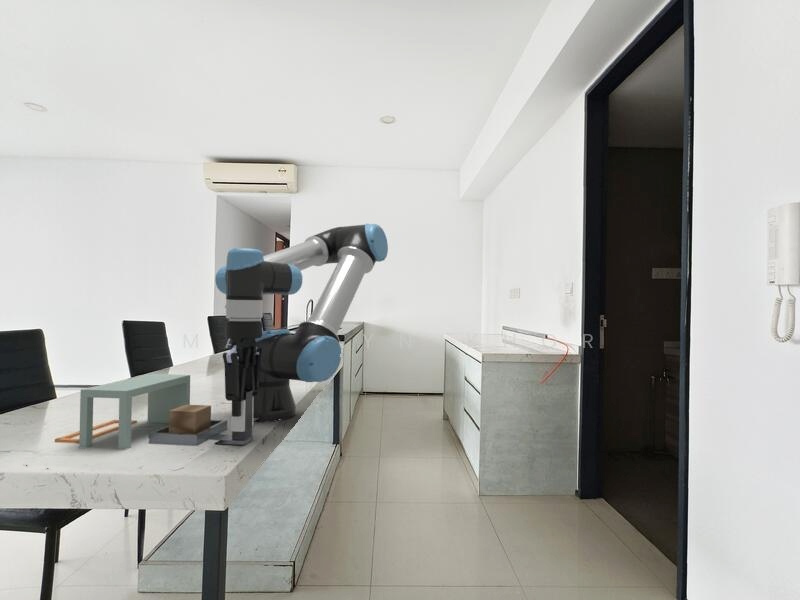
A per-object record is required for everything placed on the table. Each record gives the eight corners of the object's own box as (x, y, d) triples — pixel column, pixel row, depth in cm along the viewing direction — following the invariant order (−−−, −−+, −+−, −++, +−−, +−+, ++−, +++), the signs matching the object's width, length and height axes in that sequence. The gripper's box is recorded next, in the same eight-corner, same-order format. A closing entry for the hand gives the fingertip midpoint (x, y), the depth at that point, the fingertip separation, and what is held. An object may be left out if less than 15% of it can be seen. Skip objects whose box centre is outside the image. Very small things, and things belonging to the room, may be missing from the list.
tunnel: (189, 426, 105) (190, 374, 106) (125, 454, 85) (126, 391, 85) (151, 424, 107) (152, 373, 107) (79, 452, 86) (80, 389, 86)
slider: (260, 433, 99) (261, 386, 99) (234, 451, 87) (235, 397, 87) (183, 430, 101) (184, 384, 101) (147, 446, 89) (148, 394, 89)
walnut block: (210, 432, 97) (211, 405, 97) (195, 440, 91) (195, 411, 91) (185, 431, 98) (186, 404, 98) (168, 439, 92) (169, 410, 92)
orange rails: (136, 426, 104) (137, 420, 104) (80, 447, 89) (80, 440, 89) (114, 425, 105) (114, 419, 105) (54, 446, 89) (54, 439, 89)
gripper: (245, 319, 102) (243, 418, 101) (207, 320, 86) (205, 439, 85) (275, 319, 101) (274, 419, 100) (242, 321, 85) (240, 440, 84)
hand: (242, 428), depth 93 cm, fingers closed on slider, 3 cm apart
